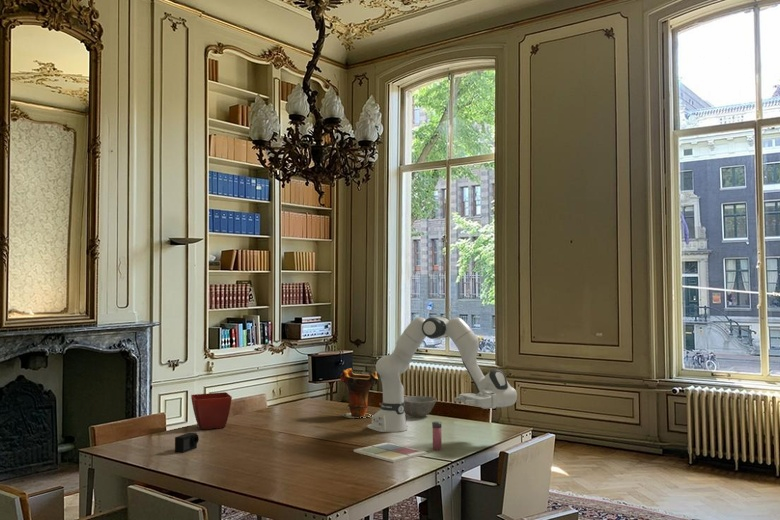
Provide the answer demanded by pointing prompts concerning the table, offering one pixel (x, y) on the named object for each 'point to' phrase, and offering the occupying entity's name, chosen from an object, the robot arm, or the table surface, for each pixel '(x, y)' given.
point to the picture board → (390, 452)
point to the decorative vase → (358, 391)
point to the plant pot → (211, 409)
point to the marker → (437, 435)
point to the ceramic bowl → (418, 405)
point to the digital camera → (186, 442)
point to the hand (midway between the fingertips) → (460, 401)
